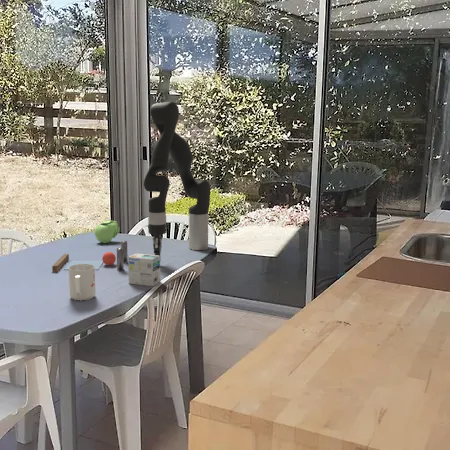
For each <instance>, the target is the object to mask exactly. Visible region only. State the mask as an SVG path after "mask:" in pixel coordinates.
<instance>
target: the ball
mask: <svg viewBox="0 0 450 450" xmlns="http://www.w3.org/2000/svg"><path fill="white" fill-rule="evenodd" d="M101 261H103V264H105V265H106V266H112V265H114V264H115V262H116V261H117V256H116V254H114V252H112V251H106V252H105V253H104V254H103V255H102V258H101Z"/></svg>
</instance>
